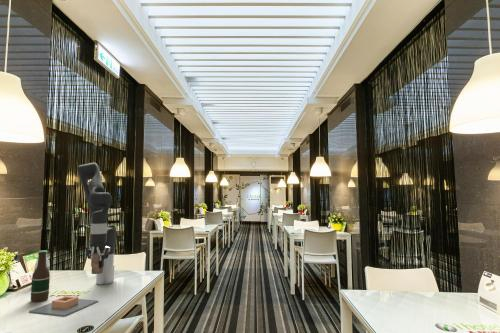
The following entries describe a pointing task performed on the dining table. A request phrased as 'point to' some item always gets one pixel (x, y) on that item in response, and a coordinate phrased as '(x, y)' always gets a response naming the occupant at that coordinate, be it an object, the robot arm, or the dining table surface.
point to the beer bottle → (40, 280)
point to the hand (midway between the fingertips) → (97, 267)
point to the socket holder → (63, 306)
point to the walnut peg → (96, 264)
